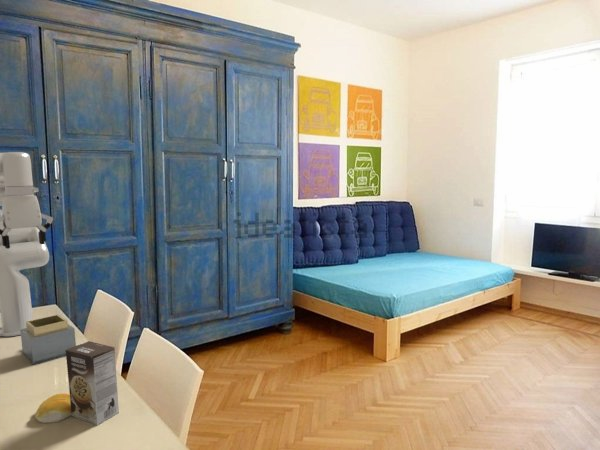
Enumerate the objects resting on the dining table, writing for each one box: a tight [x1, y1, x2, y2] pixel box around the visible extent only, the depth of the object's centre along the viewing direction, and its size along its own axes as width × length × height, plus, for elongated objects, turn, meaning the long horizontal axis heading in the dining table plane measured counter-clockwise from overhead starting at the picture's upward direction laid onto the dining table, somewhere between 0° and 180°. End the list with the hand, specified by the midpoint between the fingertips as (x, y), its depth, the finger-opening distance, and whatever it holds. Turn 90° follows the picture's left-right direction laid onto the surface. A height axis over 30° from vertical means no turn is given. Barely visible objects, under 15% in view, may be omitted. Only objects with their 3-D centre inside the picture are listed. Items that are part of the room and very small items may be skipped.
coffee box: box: [65, 340, 120, 426], centre depth 103 cm, size 9×6×16 cm
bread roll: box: [35, 392, 72, 424], centre depth 105 cm, size 8×9×4 cm
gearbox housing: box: [20, 314, 77, 366], centre depth 142 cm, size 16×12×10 cm
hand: (25, 246), depth 143 cm, fingers open, 9 cm apart
